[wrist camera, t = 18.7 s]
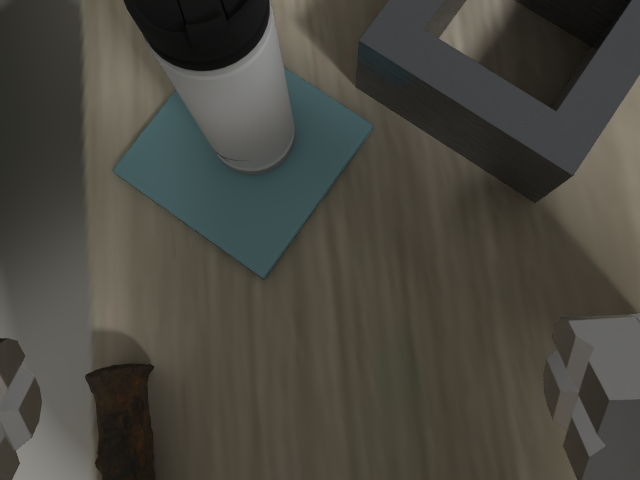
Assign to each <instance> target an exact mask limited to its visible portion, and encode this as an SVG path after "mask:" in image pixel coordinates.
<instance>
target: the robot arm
mask: <svg viewBox="0 0 640 480" xmlns="http://www.w3.org/2000/svg"><path fill="white" fill-rule="evenodd" d="M552 339H553V341H554V343H555V345H556V348H557V350H556V351H555V352H553V353H552V354H551V355H550V356H549V357H548V358H547V359H546V364H545V369H544V374H543V377H544V393H545V398H546V402H547V406H548V409H549V411H550V414H551V416H552V419H553V421H555V422H556V423H557V424H559V425H560V426H561V427H562V428H564V429H565V430H566V431H567V434H566V437H565V441H564V444H563V447H564V449H565V451H566V454H567V456H568V459H569V461H570V464H571V466H572V468H573V471H574V473H575V476H576V478H577V480H640V314H629V315H605V316H583V317H561V318H559V320H558V321H557V322H556V324H555V327H554V330H553V334H552ZM24 358H25V354H24V352H23V351H22V349H21V347H20V345H19V343H18V341H16V340H13V339H9V338H0V480H12V479H13V477H14V474H15V472H16V470H17V468H18V466H19V464H20V462H19V459H18V456H17V453H16V450H17V449H18V448H20V447H21V446H22V445H23V444H25V442H27V441H28V440H29V439H31V438H32V436H33V434H34V432H35V429H36V427H37V425H38V422H39V419H40V412H41V405H42V398H41V392H40V387H39V385H38V383H37V380H36V378H35V377H34V376H33V375H32V374H30V373H29V372H27V371H26V370H24V369H23V368H22V367H20V366H21V364H22V362H23V360H24Z"/></svg>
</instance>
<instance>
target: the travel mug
mask: <svg viewBox="0 0 640 480" xmlns="http://www.w3.org/2000/svg"><path fill="white" fill-rule="evenodd" d="M124 3H125V5H126V8H127V10H128V11H129V13H130V14H131V16H132V18H133V19H134V21H135V22H136V24H137V26H138V27H139V29H140V30H141V32H142V33H143V36H144V38H145V40H146V42H147V44H148V46H149V47H150V49H151V50H152V52H153V54H154V55H155V57H156V59H157V60H158V62H159V63H160V65H161V67H162V68H163V70H164V71H165V73H166V75H167V76H168V78H169V79H170V81H171V83H172V84H173V86H174V87H175V89H176V91H177V92H178V94H179V95H180V97H181V99H182V100H183V102H184V103H185V105H186V107H187V108H188V110H189V111H190V113H191V115H192V116H193V118H194V119H195V121H196V123H197V124H198V126H199V127H200V129H201V131H202V132H203V134H204V135H205V137H206V139H207V140H208V142H209V143H210V145H211V147H212V148H213V150H214V151H215V153H216V155H217V156H218V158H219V159H220V160H221V162H222V163H224V164H225V165H226V166H227V167H228V168H230V169H232V170H233V171H235V172H238V173H241V174H246V175H259V174H264V173H267V172H269V171H272V170H274V169H275V168H277V167H278V166H280V165H281V164H282V163H283V162H284V161H285V160H286V159H287V158H288V156H289V155H290V153H291V151H292V149H293V146H294V142H295V125H294V119H293V114H292V109H291V104H290V99H289V93H288V88H287V83H286V78H285V72H284V67H283V62H282V57H281V52H280V46H279V41H278V36H277V31H276V25H275V20H274V15H273V10H272V5H271V0H124Z"/></svg>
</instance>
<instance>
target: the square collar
mask: <svg viewBox="0 0 640 480" xmlns="http://www.w3.org/2000/svg"><path fill="white" fill-rule="evenodd" d="M465 1H466V0H389V1H388V2H387V3H386V5H385V6H384V7H383V9H382V10H381V12H380V13H379V14H378V16H377V17H376V18H375V20H374V21H373V22H372V24H371V25H370V26H369V28H368V29H367V30H366V32H365V33H364V34H363V36H362V37H361V38H360V40H359V48H358V62H357V76H356V87H357V88H358V89H360V90H361V91H363V92H364V93H366V94H368V95H369V96H371V97H372V98H374V99H375V100H377V101H378V102H380V103H381V104H383V105H385V106H386V107H388V108H389V109H391V110H392V111H394V112H395V113H397V114H399V115H400V116H402V117H403V118H405V119H406V120H408V121H409V122H411V123H412V124H414V125H416V126H417V127H419V128H420V129H422V130H423V131H425V132H426V133H428V134H430V135H431V136H433V137H434V138H436V139H437V140H439V141H440V142H442V143H443V144H445V145H447V146H448V147H450V148H451V149H453V150H454V151H456V152H457V153H459V154H461V155H462V156H464V157H465V158H467V159H468V160H470V161H471V162H473V163H475V164H476V165H478V166H479V167H481V168H482V169H484V170H485V171H487V172H488V173H490V174H492V175H493V176H495V177H496V178H498V179H499V180H501V181H502V182H504V183H506V184H507V185H509V186H510V187H512V188H513V189H515V190H516V191H518V192H519V193H521V194H523V195H524V196H526V197H527V198H529V199H530V200H532V201H533V202H535V203H536V202H538V201H539V200H541V199H542V198H543V197H545V196H546V195H547V194H549V193H550V192H551V191H553V190H554V189H556V188H557V187H558V186H560V185H561V184H562V183H564V182H565V181H566V180H568V179H569V178H571V177H572V176H573V175H574V174H575V172H576V171H577V169H578V168H579V166H580V164H581V163H582V161H583V160H584V158H585V157H586V155H587V154H588V152H589V151H590V149H591V148H592V146H593V145H594V143H595V142H596V140H597V139H598V137H599V136H600V134H601V133H602V131H603V130H604V128H605V127H606V125H607V123H608V122H609V120H610V119H611V117H612V116H613V114H614V113H615V111H616V110H617V108H618V107H619V105H620V104H621V102H622V101H623V99H624V98H625V96H626V95H627V93H628V92H629V90H630V89H631V87H632V86H633V84H634V83H635V81H636V79H637V78H638V76H639V75H640V0H516V1H517V2H519V3H521V4H522V5H524V6H526V7H527V8H529V9H531V10H532V11H534V12H536V13H537V14H539V15H541V16H542V17H544V18H546V19H547V20H549V21H551V22H552V23H554V24H556V25H557V26H559V27H561V28H563V29H564V30H566V31H568V32H569V33H571V34H573V35H574V36H576V37H578V38H579V39H581V40H583V41H584V42H586V43H588V44H589V45H591V46H592V47H591V48H590V49H589V51H588V52H587V54H586V55H585V57H584V58H583V60H582V61H581V63H580V64H579V66H578V67H577V69H576V70H575V72H574V73H573V75H572V76H571V78H570V79H569V80H568V82H567V83H566V85H565V86H564V88H563V89H562V91H561V92H560V94H559V95H558V97H557V98H556V100H555V101H554V103H553V104H552V106H551V107H548V106H547V105H545V104H543V103H542V102H540V101H539V100H537V99H535V98H534V97H532V96H530V95H529V94H527V93H526V92H524V91H522V90H521V89H519V88H518V87H516V86H514V85H513V84H511V83H509V82H508V81H506V80H505V79H503V78H501V77H500V76H498V75H497V74H495V73H493V72H492V71H490V70H488V69H487V68H485V67H484V66H482V65H480V64H479V63H477V62H476V61H474V60H472V59H471V58H469V57H467V56H466V55H464V54H463V53H461V52H459V51H458V50H456V49H455V48H453V47H451V46H450V45H448V44H446V43H445V42H443V41H442V40H440V39H438V38H439V37H440V36H441V34H442V33H443V32H444V30H445V29H446V27H447V26H448V25H449V23H450V22H451V21H452V19H453V18H454V16H455V15H456V14H457V12H458V11H459V9H460V8H461V7H462V5H463V4H464V3H465Z"/></svg>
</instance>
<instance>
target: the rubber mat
mask: <svg viewBox="0 0 640 480" xmlns="http://www.w3.org/2000/svg"><path fill="white" fill-rule="evenodd" d="M284 72H285V78H286V83H287V88H288V93H289V99H290V104H291V109H292V114H293V119H294V125H295V142H294V146H293V149H292V151H291V153H290V155H289V156H288V158H287V159H286V160H285V161H284V162H283V163H282V164H281V165H280V166H278V167H277V168H275V169H274V170H272V171H269V172H267V173H264V174H259V175H246V174H241V173H238V172H235V171H233V170H232V169H230V168H228V167H227V166H226V165H225V164H224V163H222V162H221V160H220V159H219V158H218V156H217V155H216V153H215V151H214V150H213V148H212V147H211V145H210V143H209V142H208V140H207V139H206V137H205V135H204V134H203V132H202V131H201V129H200V127H199V126H198V124H197V123H196V121H195V119H194V118H193V116H192V115H191V113H190V111H189V110H188V108H187V107H186V105H185V103H184V102H183V100H182V99H181V97H180V95H179V94H178V92H177V91H176V90H175V92H174V93H173V94H172V95H171V97H170V98H169V99H168V100H167V102H166V103H165V104H164V106H163V107H162V108H161V109H160V111H159V112H158V113H157V114H156V116H155V117H154V118H153V120H152V121H151V122H150V123H149V125H148V126H147V127H146V128H145V130H144V131H143V132H142V133H141V135H140V136H139V137H138V139H137V140H136V141H135V142H134V144H133V145H132V146H131V147H130V149H129V150H128V151H127V153H126V154H125V155H124V156H123V158H122V159H121V160H120V161H119V163H118V164H117V165H116V166H115V168H114V169H113V170H112V171H113V172H114V173H115V174H117V175H118V176H120V177H121V178H122V179H124V180H125V181H127V182H128V183H129V184H131V185H132V186H134V187H135V188H136V189H138V190H139V191H141V192H142V193H143V194H145V195H146V196H148V197H149V198H150V199H152V200H153V201H155V202H156V203H157V204H159V205H160V206H162V207H163V208H165V209H166V210H167V211H169V212H170V213H172V214H173V215H174V216H176V217H177V218H179V219H180V220H181V221H183V222H184V223H186V224H187V225H188V226H190V227H191V228H193V229H194V230H195V231H197V232H198V233H200V234H201V235H202V236H204V237H205V238H207V239H208V240H209V241H211V242H212V243H214V244H215V245H216V246H218V247H219V248H221V249H222V250H224V251H225V252H226V253H228V254H229V255H231V256H232V257H233V258H235V259H236V260H238V261H239V262H240V263H242V264H243V265H245V266H246V267H247V268H249V269H250V270H252V271H253V272H254V273H256V274H257V275H259V276H260V277H261V278H263V279H265V278H266V276H267V275H268V273H269V272H270V271H271V269H272V268H273V266H274V265H275V264H276V262H277V261H278V260H279V258H280V257H281V255H282V254H283V253H284V251H285V250H286V249H287V247H288V246H289V244H290V243H291V242H292V240H293V239H294V237H295V236H296V235H297V233H298V232H299V231H300V229H301V228H302V226H303V225H304V224H305V222H306V221H307V219H308V218H309V217H310V215H311V214H312V213H313V211H314V210H315V208H316V207H317V206H318V204H319V203H320V202H321V200H322V199H323V197H324V196H325V195H326V193H327V192H328V190H329V189H330V188H331V186H332V185H333V184H334V182H335V181H336V179H337V178H338V177H339V175H340V174H341V173H342V171H343V170H344V168H345V167H346V166H347V164H348V163H349V161H350V160H351V159H352V157H353V156H354V155H355V153H356V152H357V150H358V149H359V148H360V146H361V145H362V143H363V142H364V141H365V139H366V138H367V137H368V135H369V134H370V132H371V131H372V130H373V128H374V125H372V124H371V123H369V122H368V121H366V120H365V119H363V118H362V117H360V116H359V115H357V114H355V113H354V112H352V111H351V110H349V109H348V108H346V107H345V106H343V105H342V104H340V103H339V102H337V101H335V100H334V99H332V98H331V97H329V96H328V95H326V94H325V93H323V92H322V91H320V90H319V89H317V88H316V87H314V86H312V85H311V84H309V83H308V82H306V81H305V80H303V79H302V78H300V77H299V76H297V75H296V74H294V73H293V72H291V71H289V70H288V69H286V68H285V67H284Z"/></svg>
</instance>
